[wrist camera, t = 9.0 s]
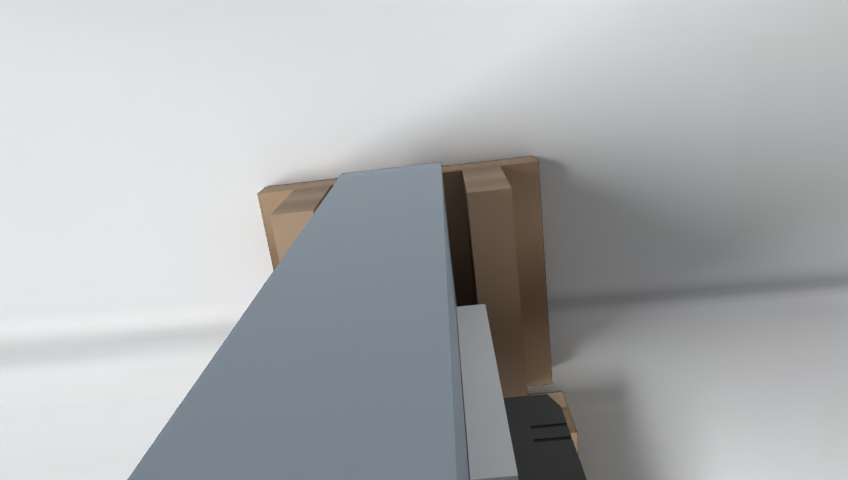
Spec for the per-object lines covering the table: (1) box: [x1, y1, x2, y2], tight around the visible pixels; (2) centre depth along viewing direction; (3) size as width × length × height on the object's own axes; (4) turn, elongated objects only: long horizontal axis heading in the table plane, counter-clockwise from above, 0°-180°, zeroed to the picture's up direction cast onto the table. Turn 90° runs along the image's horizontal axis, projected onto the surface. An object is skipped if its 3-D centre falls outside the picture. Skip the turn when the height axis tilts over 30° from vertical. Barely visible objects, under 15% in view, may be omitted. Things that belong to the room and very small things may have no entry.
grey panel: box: [128, 162, 470, 480], centre depth 12 cm, size 9×3×15 cm, turn 7°
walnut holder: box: [258, 156, 552, 398], centre depth 19 cm, size 8×9×4 cm
